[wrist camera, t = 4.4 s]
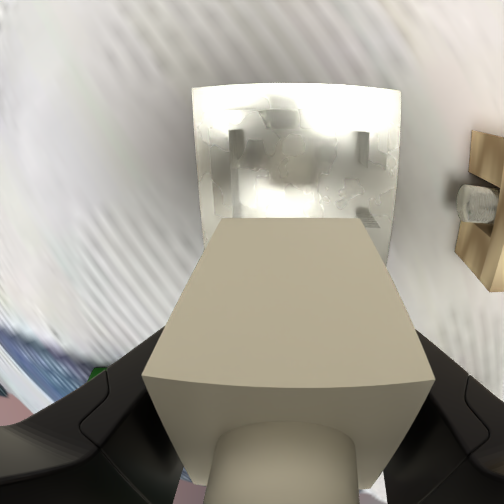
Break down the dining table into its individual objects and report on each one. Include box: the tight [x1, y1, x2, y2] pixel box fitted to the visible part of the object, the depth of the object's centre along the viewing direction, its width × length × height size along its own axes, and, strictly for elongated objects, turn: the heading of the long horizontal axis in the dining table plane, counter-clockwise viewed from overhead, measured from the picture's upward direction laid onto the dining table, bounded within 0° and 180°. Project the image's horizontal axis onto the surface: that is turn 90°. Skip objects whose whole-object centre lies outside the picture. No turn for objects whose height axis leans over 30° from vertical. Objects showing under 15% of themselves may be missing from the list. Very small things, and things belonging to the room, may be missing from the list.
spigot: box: [141, 218, 435, 504], centre depth 6 cm, size 4×4×8 cm
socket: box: [192, 83, 401, 266], centre depth 18 cm, size 12×12×3 cm
